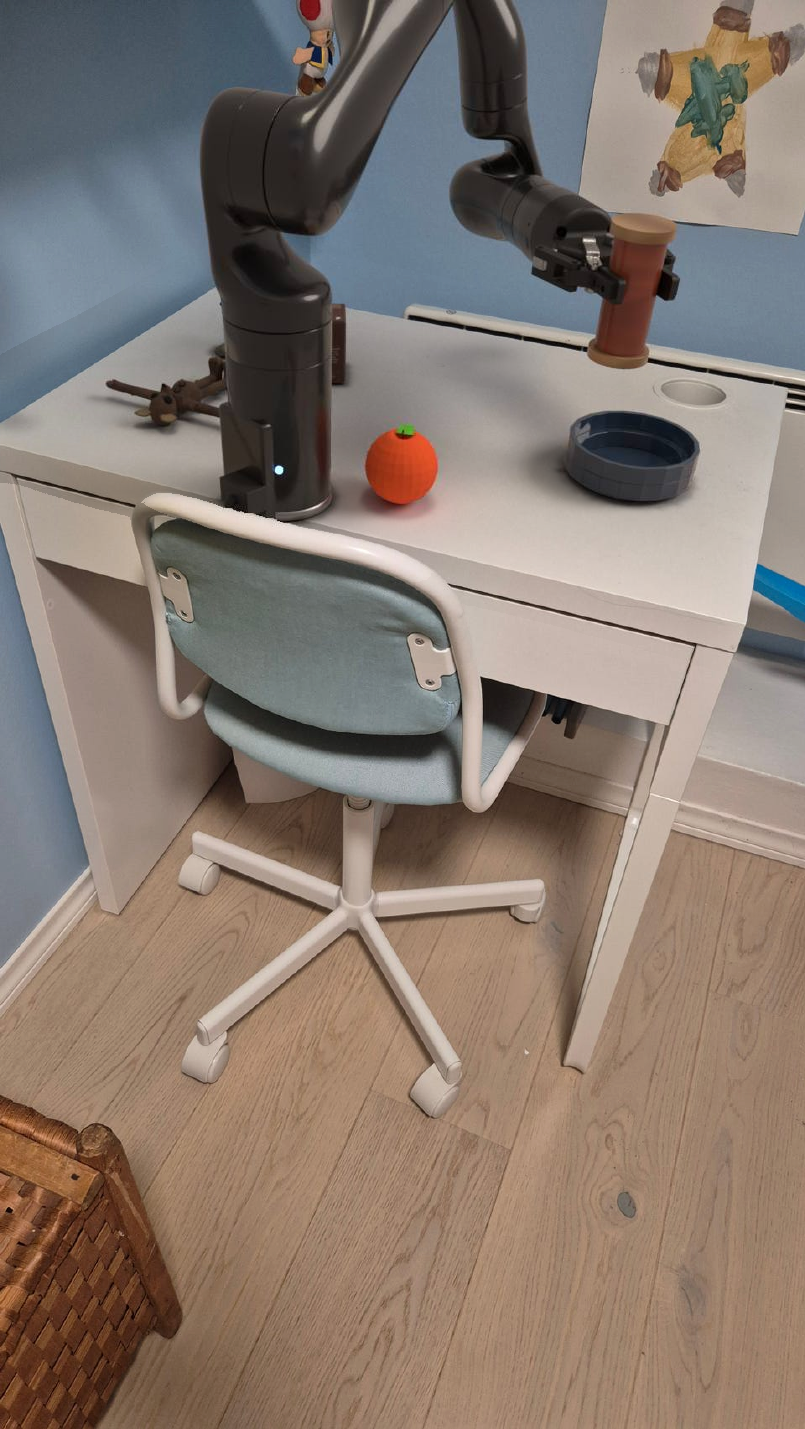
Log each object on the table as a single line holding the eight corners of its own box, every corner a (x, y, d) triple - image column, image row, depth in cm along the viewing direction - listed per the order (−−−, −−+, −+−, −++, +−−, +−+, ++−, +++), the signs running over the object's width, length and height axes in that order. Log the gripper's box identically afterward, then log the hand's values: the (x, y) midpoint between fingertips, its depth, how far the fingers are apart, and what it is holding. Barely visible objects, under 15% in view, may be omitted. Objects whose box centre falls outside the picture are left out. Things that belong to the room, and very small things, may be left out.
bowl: (641, 520, 94) (651, 482, 92) (538, 469, 101) (543, 433, 98) (714, 479, 101) (724, 443, 99) (612, 434, 108) (620, 400, 105)
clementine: (376, 472, 99) (378, 405, 94) (443, 483, 98) (449, 415, 93) (355, 510, 93) (357, 440, 88) (427, 522, 92) (433, 452, 87)
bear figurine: (295, 373, 108) (224, 409, 97) (294, 411, 111) (224, 450, 100) (158, 339, 113) (76, 370, 102) (160, 377, 116) (80, 411, 105)
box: (345, 365, 119) (346, 303, 114) (345, 385, 114) (346, 322, 109) (295, 363, 118) (294, 300, 113) (292, 383, 114) (291, 319, 109)
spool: (623, 374, 91) (653, 236, 83) (574, 355, 94) (598, 219, 86) (659, 359, 94) (690, 225, 86) (610, 341, 97) (636, 209, 89)
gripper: (502, 196, 94) (584, 251, 83) (631, 191, 99) (727, 243, 87) (493, 277, 99) (569, 340, 88) (616, 269, 104) (705, 328, 92)
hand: (647, 291), depth 87 cm, fingers closed on spool, 4 cm apart
